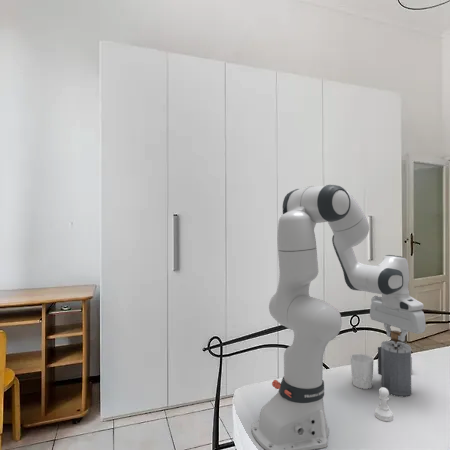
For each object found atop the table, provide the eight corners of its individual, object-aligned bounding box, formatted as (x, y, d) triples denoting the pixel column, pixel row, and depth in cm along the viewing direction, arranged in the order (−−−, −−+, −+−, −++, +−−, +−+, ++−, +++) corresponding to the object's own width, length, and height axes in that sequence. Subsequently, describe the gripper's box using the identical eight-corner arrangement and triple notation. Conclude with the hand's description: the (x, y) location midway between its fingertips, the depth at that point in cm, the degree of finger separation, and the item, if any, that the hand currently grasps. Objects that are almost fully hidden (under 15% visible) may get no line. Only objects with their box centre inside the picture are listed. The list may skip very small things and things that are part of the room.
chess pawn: (375, 410, 105) (375, 382, 105) (392, 414, 103) (392, 385, 103) (375, 419, 101) (374, 390, 101) (393, 423, 99) (393, 393, 99)
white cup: (376, 391, 118) (375, 363, 118) (352, 389, 119) (352, 361, 119) (371, 380, 126) (370, 354, 126) (349, 379, 127) (348, 353, 127)
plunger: (397, 389, 114) (397, 336, 114) (381, 380, 120) (380, 330, 120) (411, 385, 117) (410, 333, 117) (394, 377, 123) (394, 327, 123)
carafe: (398, 399, 112) (398, 352, 112) (370, 383, 123) (370, 341, 123) (417, 393, 116) (417, 347, 116) (388, 378, 127) (388, 337, 127)
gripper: (365, 295, 127) (366, 331, 127) (415, 307, 108) (416, 349, 108) (377, 293, 129) (378, 329, 129) (428, 305, 111) (428, 346, 111)
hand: (395, 338), depth 118 cm, fingers closed on plunger, 3 cm apart
